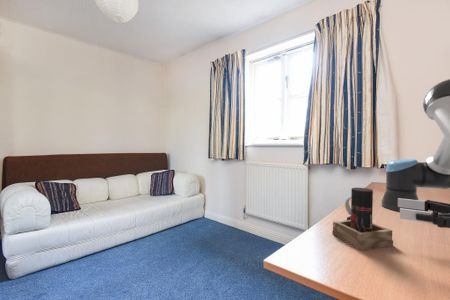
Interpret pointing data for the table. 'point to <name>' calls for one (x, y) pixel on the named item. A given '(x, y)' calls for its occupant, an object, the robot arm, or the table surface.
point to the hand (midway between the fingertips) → (398, 207)
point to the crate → (363, 235)
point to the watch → (348, 208)
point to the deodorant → (361, 209)
